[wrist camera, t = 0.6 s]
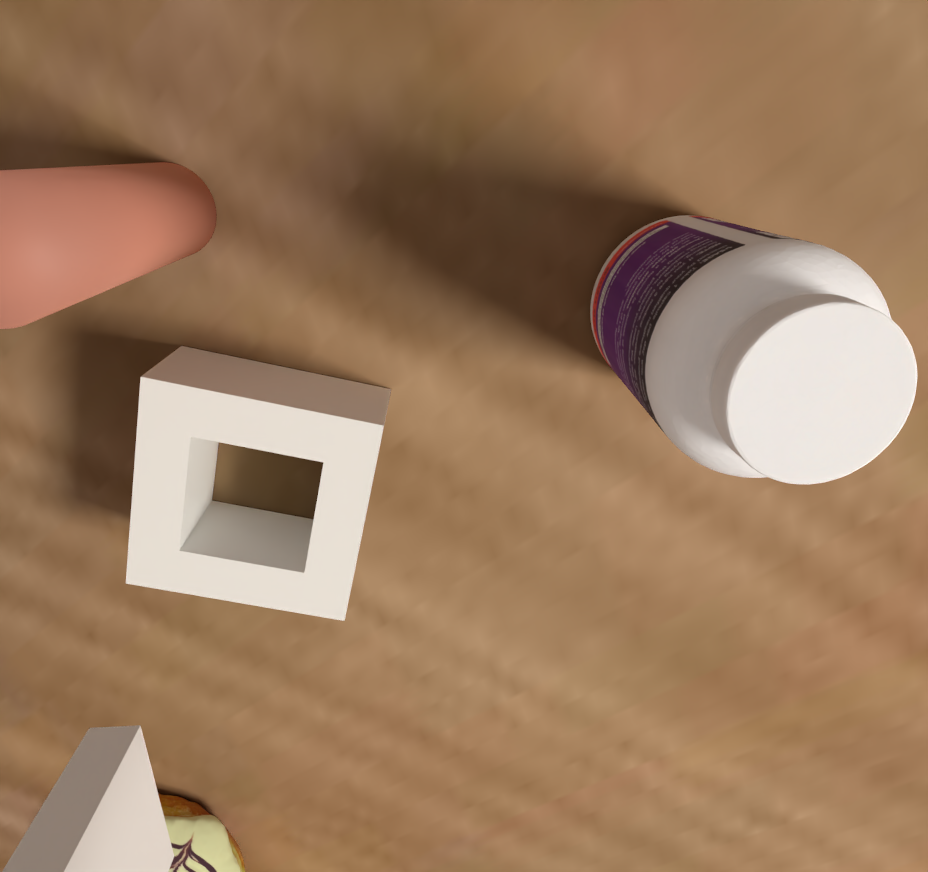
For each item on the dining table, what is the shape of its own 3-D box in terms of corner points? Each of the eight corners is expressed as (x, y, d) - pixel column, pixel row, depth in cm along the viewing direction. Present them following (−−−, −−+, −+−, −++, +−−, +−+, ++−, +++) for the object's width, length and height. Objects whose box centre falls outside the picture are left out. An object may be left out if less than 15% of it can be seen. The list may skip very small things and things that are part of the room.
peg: (126, 152, 31) (-100, 155, 18) (221, 174, 32) (66, 192, 19) (121, 246, 33) (-93, 310, 20) (211, 266, 33) (61, 342, 20)
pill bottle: (597, 398, 36) (689, 547, 22) (574, 232, 33) (665, 289, 20) (761, 366, 36) (955, 498, 22) (754, 195, 33) (971, 229, 19)
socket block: (181, 345, 34) (140, 376, 30) (391, 389, 35) (383, 425, 31) (164, 529, 38) (125, 583, 33) (356, 564, 39) (344, 620, 34)
